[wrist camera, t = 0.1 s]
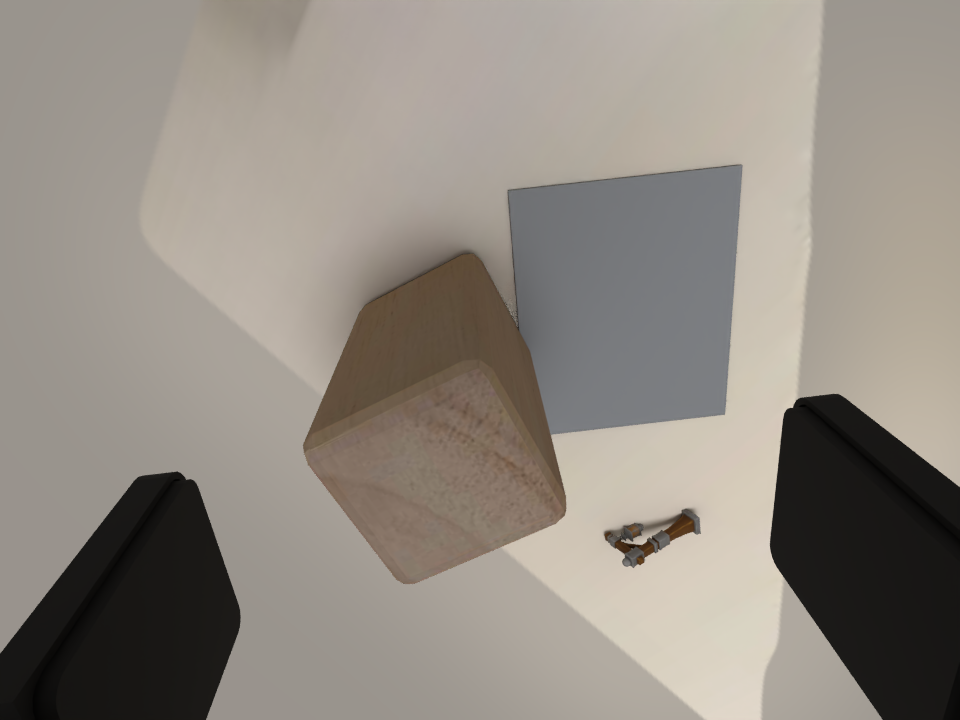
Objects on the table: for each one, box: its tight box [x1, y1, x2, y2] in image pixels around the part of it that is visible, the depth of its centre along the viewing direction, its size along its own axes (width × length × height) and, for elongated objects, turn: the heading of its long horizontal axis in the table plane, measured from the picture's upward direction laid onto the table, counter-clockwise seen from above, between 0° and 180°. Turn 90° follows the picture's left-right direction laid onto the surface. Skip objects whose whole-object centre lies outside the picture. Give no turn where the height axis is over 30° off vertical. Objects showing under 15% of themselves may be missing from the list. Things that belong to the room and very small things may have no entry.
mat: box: [508, 165, 742, 435], centre depth 48 cm, size 20×16×1 cm
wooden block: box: [303, 254, 566, 584], centre depth 39 cm, size 10×10×20 cm
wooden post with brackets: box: [605, 509, 701, 568], centre depth 56 cm, size 2×8×4 cm, turn 102°
